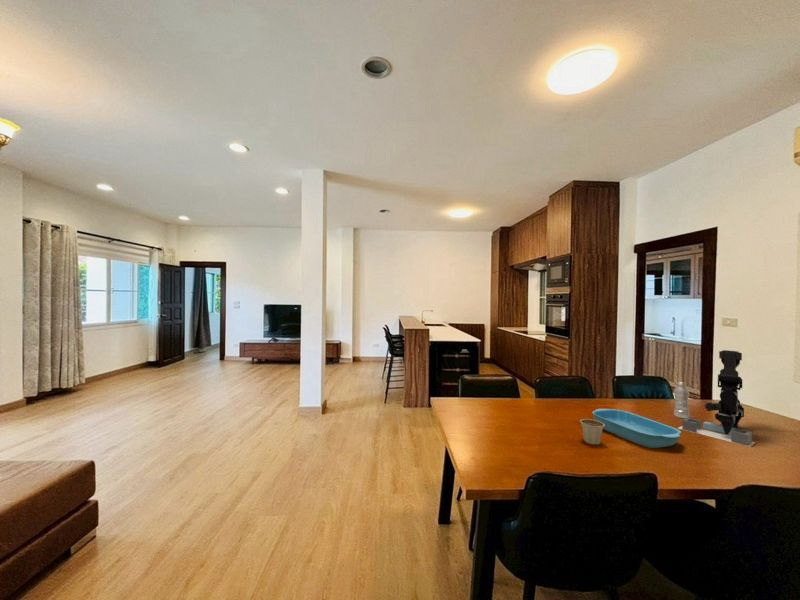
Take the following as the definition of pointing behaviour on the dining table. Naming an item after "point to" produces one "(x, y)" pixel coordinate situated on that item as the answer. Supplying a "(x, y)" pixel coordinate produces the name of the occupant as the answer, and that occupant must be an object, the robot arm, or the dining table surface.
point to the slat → (715, 427)
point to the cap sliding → (741, 436)
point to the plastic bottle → (681, 400)
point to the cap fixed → (691, 424)
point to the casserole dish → (637, 428)
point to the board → (717, 436)
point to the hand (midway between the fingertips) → (729, 432)
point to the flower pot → (592, 431)
